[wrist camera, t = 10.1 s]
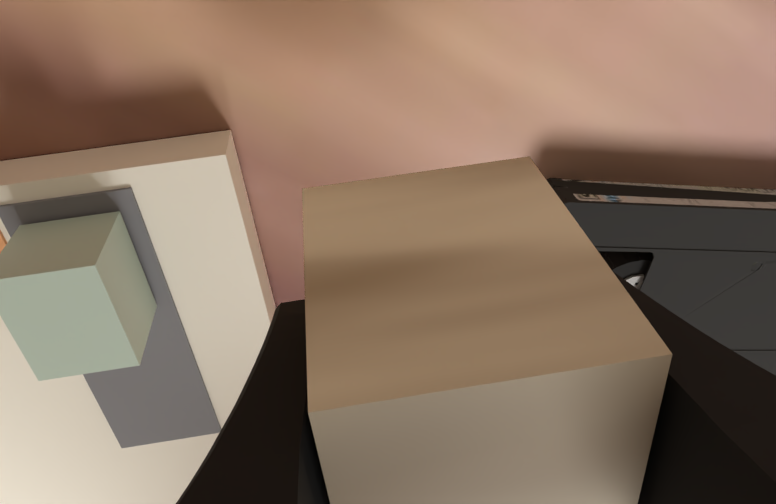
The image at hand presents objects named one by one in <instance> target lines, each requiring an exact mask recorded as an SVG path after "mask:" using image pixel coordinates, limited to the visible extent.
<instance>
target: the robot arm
mask: <svg viewBox="0 0 776 504" xmlns="http://www.w3.org/2000/svg"><path fill="white" fill-rule="evenodd" d="M613 273H614V272H613ZM614 274H615V275H616V277H617V278H618V280H619V281H620V282H621V284H622V285H623V286H624V288H625V289H626V291H627V292H628V293H629V295H630V296H631V298H632V299H633V300H634V302H635V303H636V304H637V306H638V307H639V309H640V310H641V311H642V313H643V314H644V315H645V317H646V318H647V320H648V321H649V322H650V324H651V325H652V327H653V328H654V329H655V331H656V332H657V333H658V335H659V336H660V338H661V339H662V340H663V342H664V343H665V344H666V346H667V347H668V349H669V350H670V351H671V353H672V358H671V363H670V367H669V371H668V376H667V380H666V384H665V388H664V393H663V397H662V401H661V405H660V410H659V414H658V418H657V423H656V427H655V431H654V435H653V440H652V444H651V448H650V453H649V457H648V461H647V465H646V470H645V474H644V478H643V483H642V487H641V491H640V495H639V500H638V504H776V375H774V374H772V373H770V372H768V371H767V370H765V369H763V368H761V367H759V366H758V365H756V364H754V363H753V362H751V361H749V360H748V359H746V358H744V357H743V356H741V355H739V354H737V353H736V352H734V351H732V350H731V349H729V348H727V347H726V346H724V345H722V344H721V343H719V342H717V341H716V340H714V339H713V338H711V337H709V336H708V335H706V334H705V333H703V332H701V331H700V330H698V329H697V328H695V327H694V326H692V325H690V324H689V323H687V322H686V321H684V320H683V319H681V318H680V317H678V316H677V315H675V314H674V313H672V312H671V311H669V310H668V309H666V308H665V307H663V306H662V305H660V304H659V303H658V302H656V301H655V300H653V299H652V298H650V297H649V296H647V295H646V294H645V293H643V292H642V291H640V290H639V289H637V288H636V287H634V286H633V285H632V284H630V283H629V282H627V281H626V280H624V279H623V278H622V277H620V276H619V275H617V274H616V273H614ZM176 504H330V501H329V496H328V492H327V488H326V484H325V480H324V476H323V472H322V468H321V464H320V460H319V456H318V452H317V448H316V443H315V439H314V435H313V431H312V427H311V423H310V419H309V415H308V395H307V357H306V319H305V300H298V301H291V302H285V303H280V305H279V306H278V307H277V308H276V309H275V312H274V315H273V318H272V321H271V324H270V327H269V330H268V332H267V335H266V338H265V340H264V343H263V345H262V347H261V350H260V352H259V354H258V357H257V359H256V362H255V364H254V366H253V368H252V370H251V372H250V374H249V377H248V379H247V381H246V383H245V385H244V387H243V389H242V391H241V393H240V395H239V397H238V400H237V402H236V403H235V405H234V407H233V409H232V411H231V413H230V415H229V417H228V418H227V420H226V422H225V424H224V426H223V427H222V429H221V431H220V433H219V435H218V436H217V438H216V440H215V442H214V444H213V445H212V447H211V449H210V451H209V452H208V454H207V456H206V457H205V459H204V461H203V462H202V464H201V466H200V467H199V469H198V470H197V472H196V474H195V475H194V477H193V478H192V480H191V482H190V483H189V485H188V486H187V488H186V489H185V491H184V492H183V494H182V495H181V497H180V498H179V500H178V501H177V503H176Z"/></svg>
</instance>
